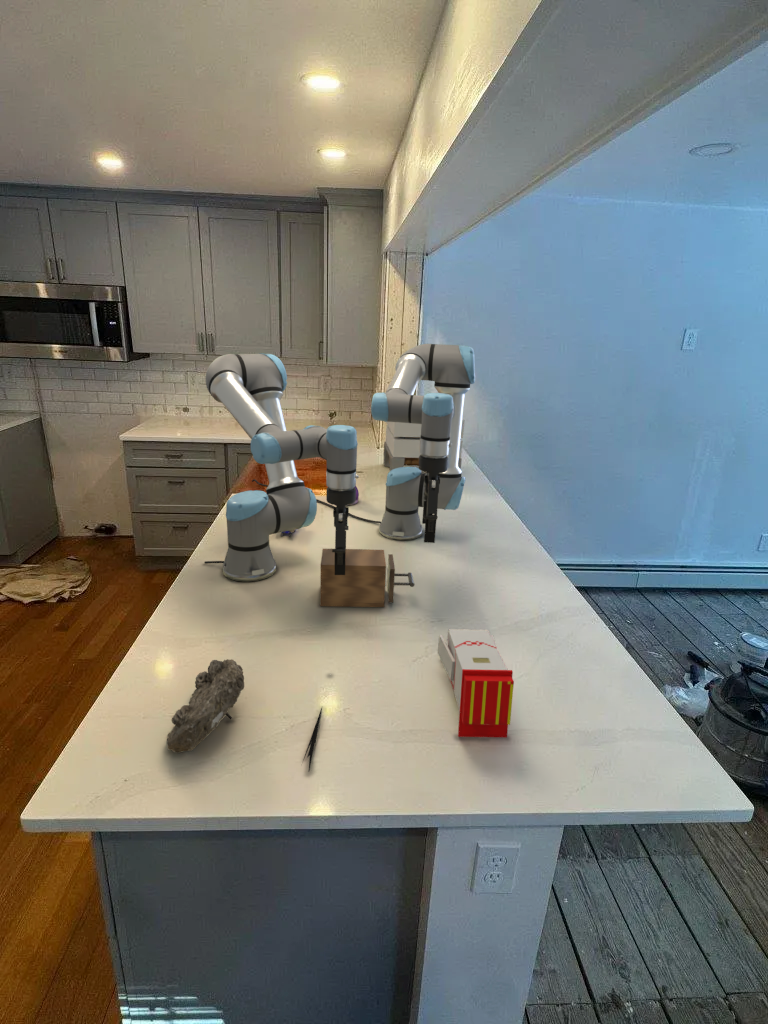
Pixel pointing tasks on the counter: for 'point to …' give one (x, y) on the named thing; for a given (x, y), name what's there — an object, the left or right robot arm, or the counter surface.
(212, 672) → the fossil
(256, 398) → the left robot arm
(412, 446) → the grey box
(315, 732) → the feather
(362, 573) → the cabinet
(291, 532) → the figurine character
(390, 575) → the drawer
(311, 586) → the counter surface
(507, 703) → the toy
